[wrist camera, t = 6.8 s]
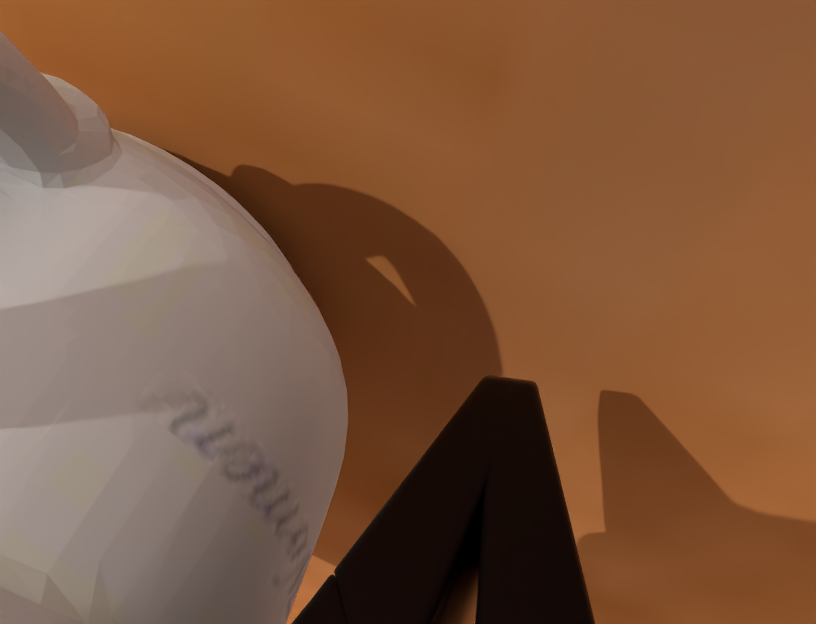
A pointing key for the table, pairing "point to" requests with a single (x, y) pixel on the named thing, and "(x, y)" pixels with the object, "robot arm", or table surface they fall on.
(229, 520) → the teacup
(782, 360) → the table surface
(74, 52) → the table surface
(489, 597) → the robot arm
